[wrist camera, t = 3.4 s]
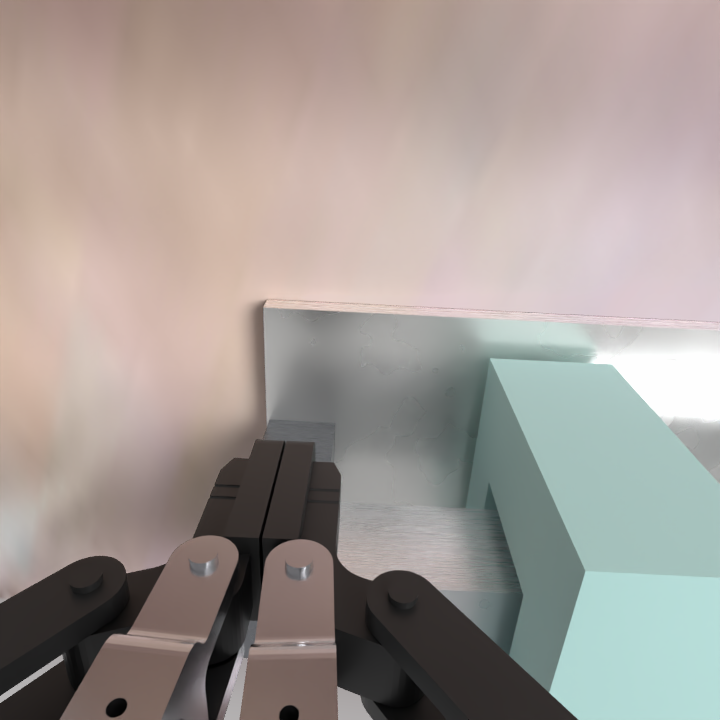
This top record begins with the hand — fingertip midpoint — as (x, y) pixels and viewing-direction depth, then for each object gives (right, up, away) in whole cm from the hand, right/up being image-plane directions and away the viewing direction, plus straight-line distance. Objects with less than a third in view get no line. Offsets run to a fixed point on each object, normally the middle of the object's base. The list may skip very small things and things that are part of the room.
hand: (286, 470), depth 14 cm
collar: (+8, -2, +6) cm, 10 cm away
